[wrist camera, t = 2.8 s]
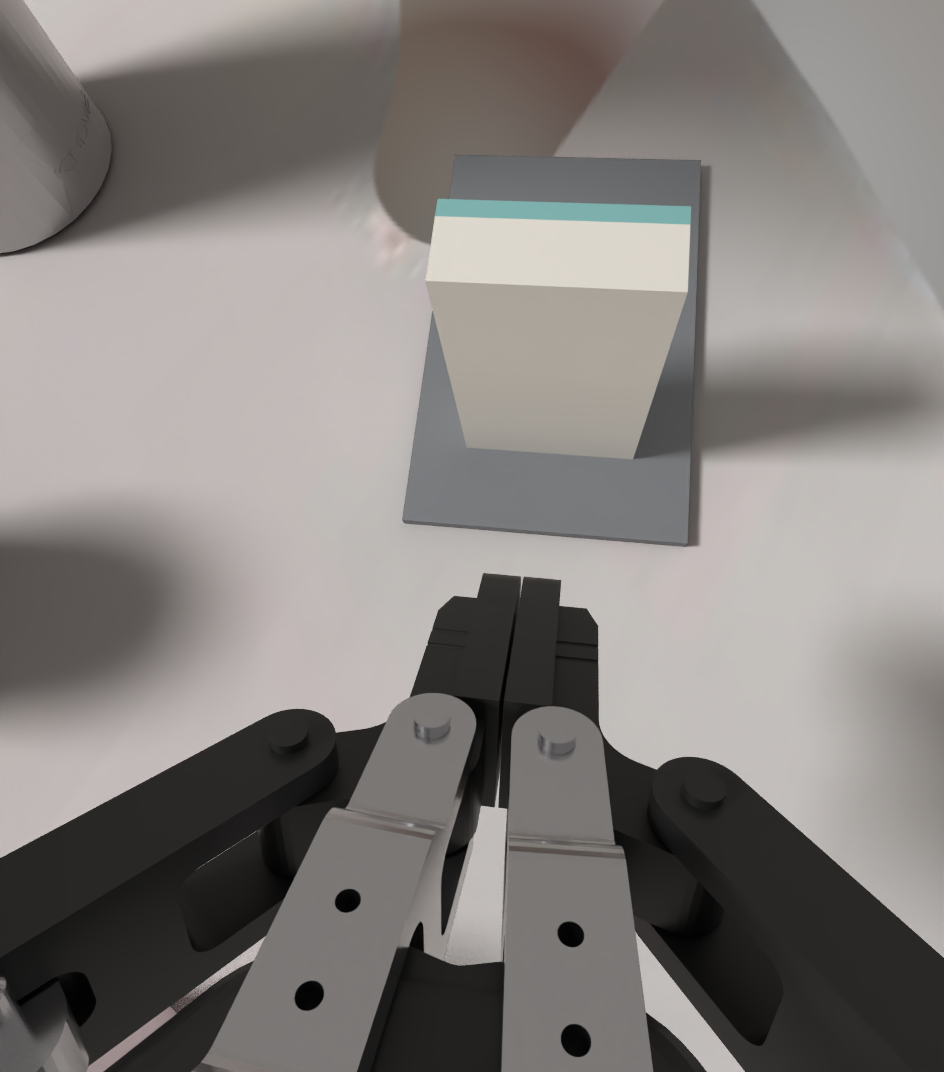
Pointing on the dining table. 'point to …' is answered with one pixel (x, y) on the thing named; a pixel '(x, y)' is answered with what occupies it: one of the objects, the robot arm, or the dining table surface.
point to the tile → (556, 318)
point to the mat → (556, 479)
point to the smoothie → (131, 1041)
